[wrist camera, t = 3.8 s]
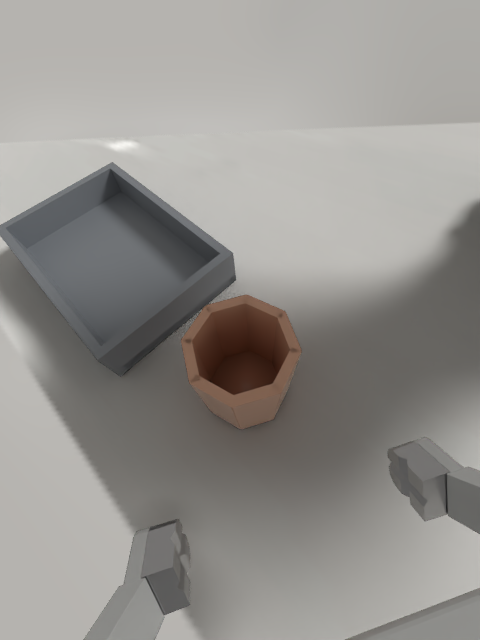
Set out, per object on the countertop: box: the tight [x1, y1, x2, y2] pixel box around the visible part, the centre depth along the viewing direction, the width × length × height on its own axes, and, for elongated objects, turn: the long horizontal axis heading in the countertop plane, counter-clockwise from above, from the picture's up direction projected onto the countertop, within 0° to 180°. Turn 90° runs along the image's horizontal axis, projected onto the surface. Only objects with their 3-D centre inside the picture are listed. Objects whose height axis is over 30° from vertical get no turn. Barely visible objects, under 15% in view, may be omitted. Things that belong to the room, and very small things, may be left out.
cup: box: [181, 295, 302, 429], centre depth 20 cm, size 6×6×8 cm
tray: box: [0, 162, 236, 376], centre depth 29 cm, size 20×14×4 cm
